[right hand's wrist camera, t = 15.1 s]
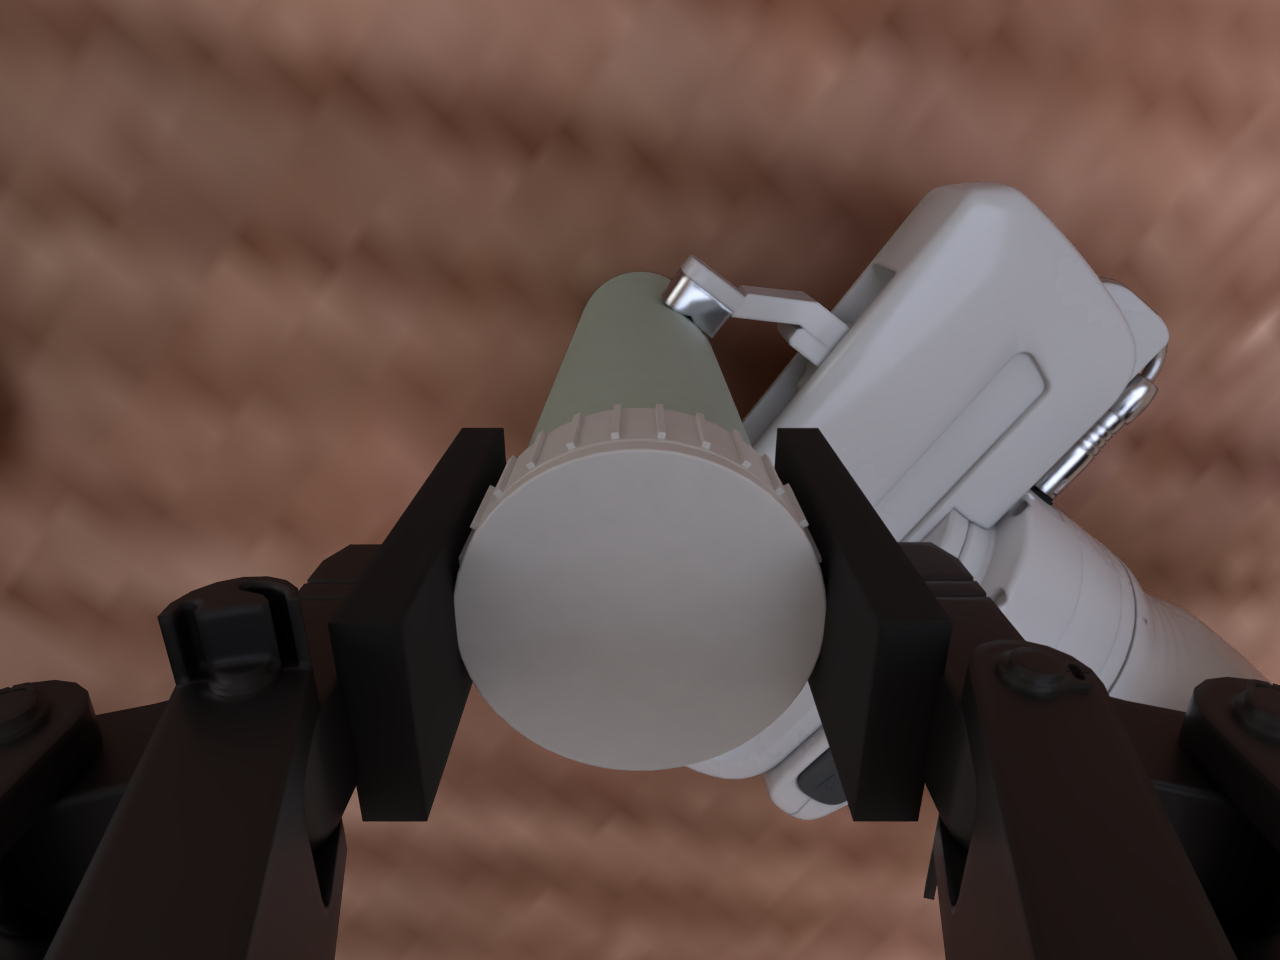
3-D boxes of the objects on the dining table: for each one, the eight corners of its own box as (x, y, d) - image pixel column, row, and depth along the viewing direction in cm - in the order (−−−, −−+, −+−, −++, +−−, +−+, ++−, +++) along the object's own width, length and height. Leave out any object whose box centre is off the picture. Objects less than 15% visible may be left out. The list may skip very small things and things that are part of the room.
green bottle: (566, 372, 30) (450, 687, 12) (598, 255, 28) (521, 408, 10) (678, 405, 30) (737, 756, 12) (717, 292, 28) (850, 502, 10)
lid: (854, 621, 12) (889, 694, 11) (574, 738, 13) (565, 822, 12) (720, 338, 11) (736, 371, 9) (409, 494, 12) (369, 550, 10)
